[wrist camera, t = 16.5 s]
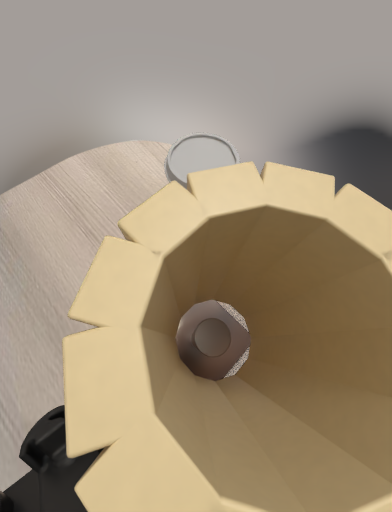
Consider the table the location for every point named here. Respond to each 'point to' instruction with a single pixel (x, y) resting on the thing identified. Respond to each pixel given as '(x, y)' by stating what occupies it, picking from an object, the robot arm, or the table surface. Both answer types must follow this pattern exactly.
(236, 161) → the disposable coffee cup
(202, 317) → the spindle stand
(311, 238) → the wooden stave sleeve
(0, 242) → the table surface
